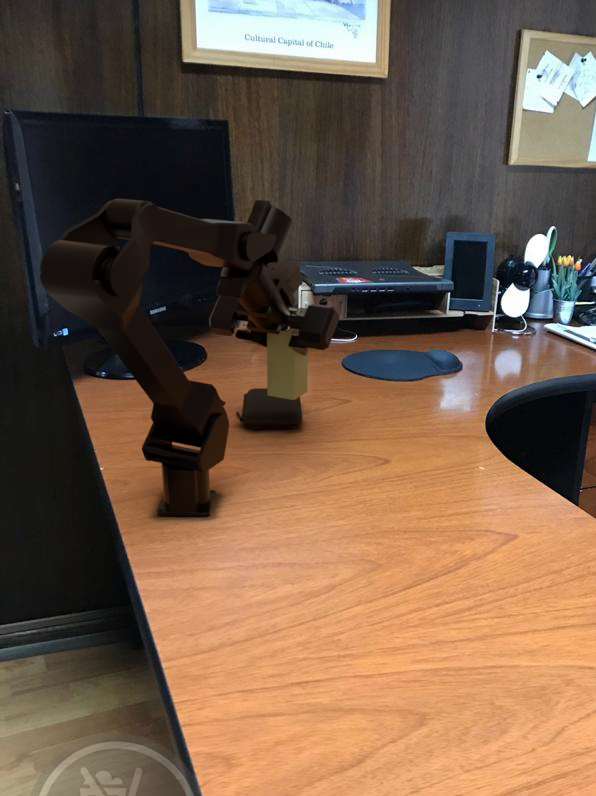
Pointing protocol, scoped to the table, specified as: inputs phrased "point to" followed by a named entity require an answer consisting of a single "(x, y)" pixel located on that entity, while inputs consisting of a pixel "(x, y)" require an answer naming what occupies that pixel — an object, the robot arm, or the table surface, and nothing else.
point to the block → (285, 367)
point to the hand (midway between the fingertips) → (291, 350)
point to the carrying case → (269, 411)
